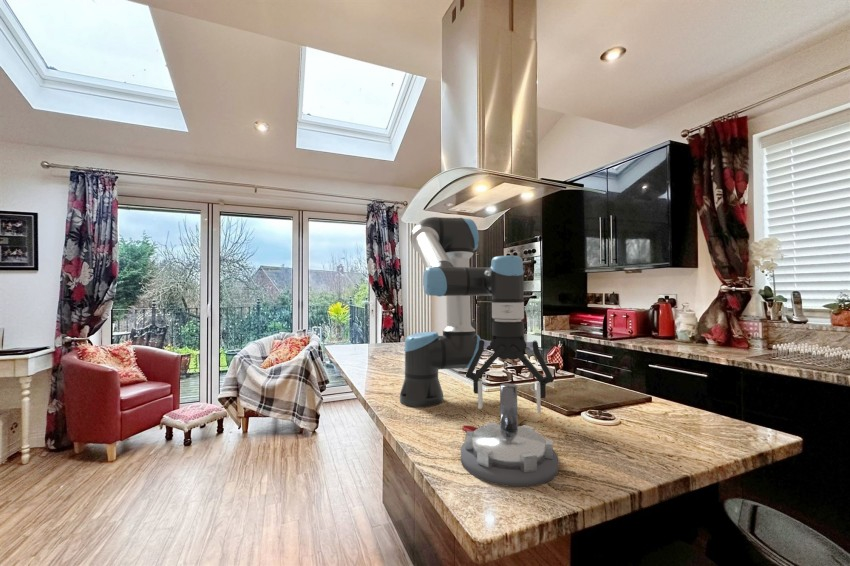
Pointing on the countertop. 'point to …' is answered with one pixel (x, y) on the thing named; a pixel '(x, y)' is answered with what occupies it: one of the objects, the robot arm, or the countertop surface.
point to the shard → (520, 418)
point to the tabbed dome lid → (509, 439)
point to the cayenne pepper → (468, 428)
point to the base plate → (510, 471)
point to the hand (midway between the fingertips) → (509, 409)
